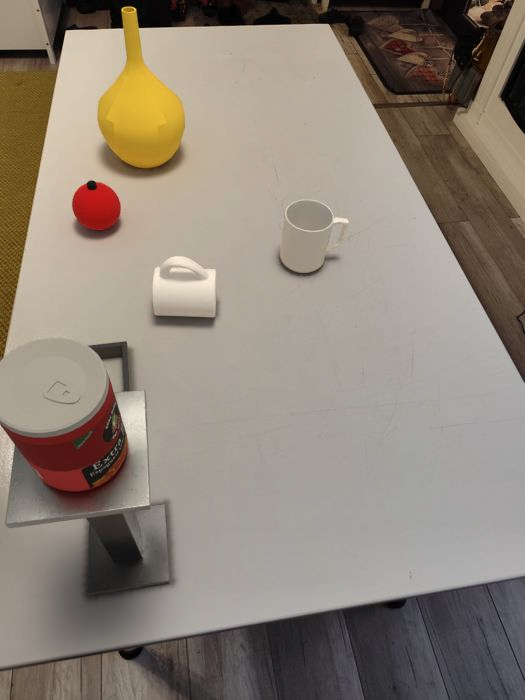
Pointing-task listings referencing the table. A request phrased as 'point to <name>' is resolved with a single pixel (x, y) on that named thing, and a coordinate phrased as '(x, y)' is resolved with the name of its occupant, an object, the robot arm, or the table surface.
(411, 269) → the table surface
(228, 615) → the table surface
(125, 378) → the grey square frame
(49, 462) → the canned food
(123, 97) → the vase
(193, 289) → the mug
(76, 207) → the ornament
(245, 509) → the table surface
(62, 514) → the steel stand
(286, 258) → the mug
